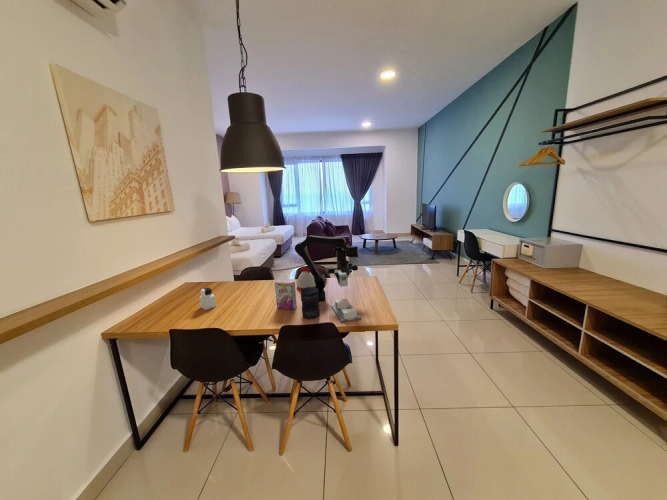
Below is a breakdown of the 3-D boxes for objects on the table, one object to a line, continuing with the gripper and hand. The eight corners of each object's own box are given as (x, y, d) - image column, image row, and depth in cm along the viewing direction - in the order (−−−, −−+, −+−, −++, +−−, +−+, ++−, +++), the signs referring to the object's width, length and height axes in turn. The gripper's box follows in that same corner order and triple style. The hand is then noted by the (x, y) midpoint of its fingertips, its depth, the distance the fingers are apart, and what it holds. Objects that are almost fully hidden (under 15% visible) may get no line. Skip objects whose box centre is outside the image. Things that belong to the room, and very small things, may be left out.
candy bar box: (276, 308, 161) (274, 282, 157) (280, 305, 166) (278, 279, 162) (293, 310, 157) (291, 284, 154) (297, 306, 162) (295, 281, 158)
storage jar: (309, 310, 157) (307, 285, 154) (323, 313, 152) (321, 288, 149) (298, 317, 149) (296, 292, 145) (313, 321, 144) (311, 294, 140)
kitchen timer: (310, 291, 186) (308, 270, 183) (293, 289, 192) (291, 268, 188) (319, 284, 198) (318, 265, 195) (303, 282, 204) (302, 263, 201)
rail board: (341, 322, 140) (340, 314, 139) (331, 307, 159) (331, 300, 158) (361, 319, 143) (360, 311, 142) (349, 304, 162) (349, 297, 161)
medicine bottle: (212, 303, 173) (209, 285, 171) (216, 306, 168) (213, 288, 166) (200, 307, 168) (197, 289, 166) (204, 310, 163) (201, 291, 161)
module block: (340, 286, 163) (340, 275, 161) (337, 283, 169) (337, 272, 168) (347, 285, 164) (347, 274, 162) (344, 282, 170) (343, 271, 169)
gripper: (329, 262, 153) (331, 288, 156) (360, 259, 157) (361, 284, 161) (325, 258, 163) (326, 282, 167) (354, 254, 168) (355, 278, 171)
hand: (342, 281), depth 166 cm, fingers closed on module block, 4 cm apart
